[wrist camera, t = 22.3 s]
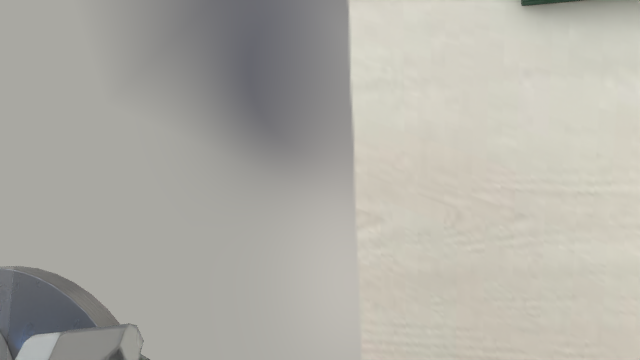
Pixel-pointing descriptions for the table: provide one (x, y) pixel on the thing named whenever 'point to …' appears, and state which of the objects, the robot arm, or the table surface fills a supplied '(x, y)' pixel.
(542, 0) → the grid
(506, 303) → the table surface
